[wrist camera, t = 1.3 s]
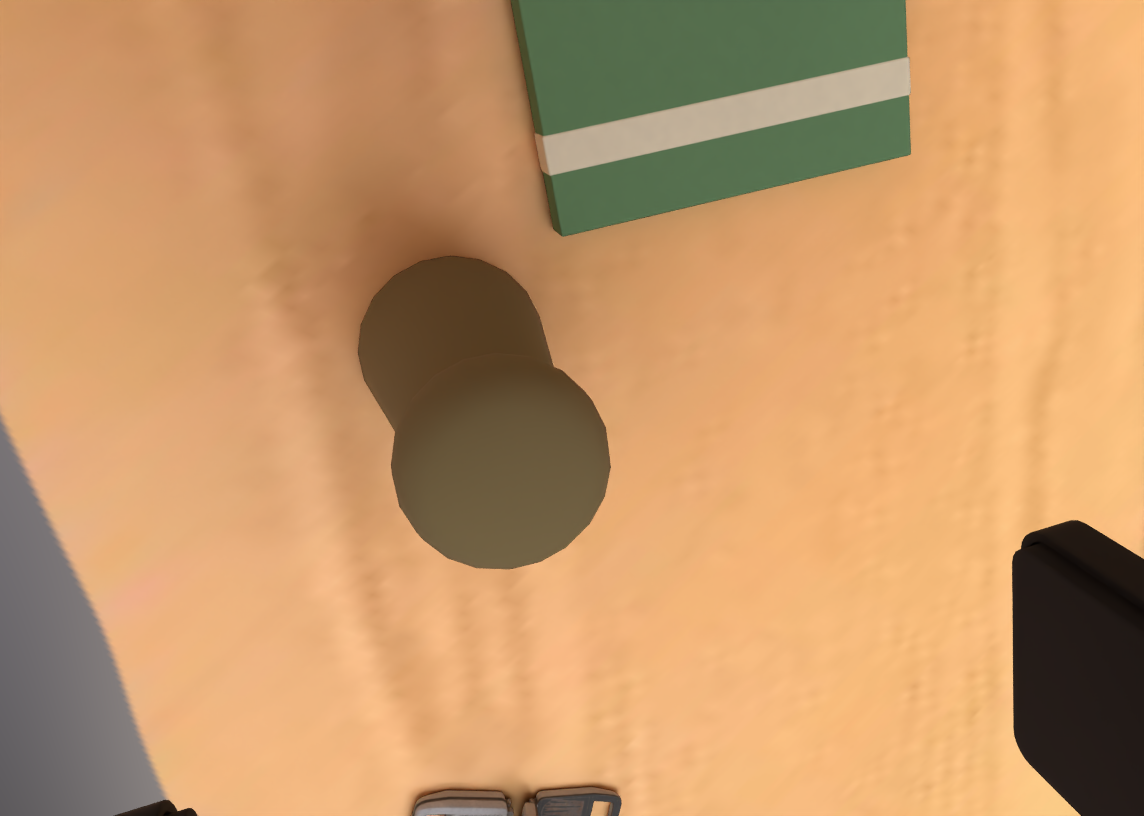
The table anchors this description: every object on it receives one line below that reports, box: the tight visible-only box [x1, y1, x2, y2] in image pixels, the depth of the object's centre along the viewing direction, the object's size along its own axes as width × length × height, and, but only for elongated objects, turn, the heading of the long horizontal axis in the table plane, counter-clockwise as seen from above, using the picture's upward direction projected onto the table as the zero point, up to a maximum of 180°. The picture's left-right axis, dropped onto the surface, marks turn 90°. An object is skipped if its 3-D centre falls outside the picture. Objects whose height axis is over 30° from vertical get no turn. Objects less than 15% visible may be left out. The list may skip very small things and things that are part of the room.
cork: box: [358, 256, 611, 569], centre depth 26 cm, size 6×6×11 cm
